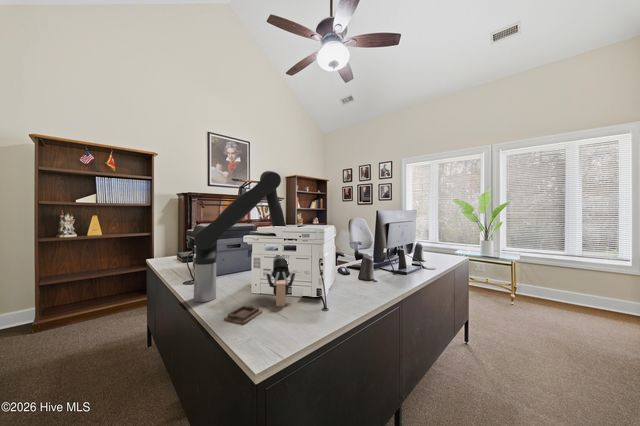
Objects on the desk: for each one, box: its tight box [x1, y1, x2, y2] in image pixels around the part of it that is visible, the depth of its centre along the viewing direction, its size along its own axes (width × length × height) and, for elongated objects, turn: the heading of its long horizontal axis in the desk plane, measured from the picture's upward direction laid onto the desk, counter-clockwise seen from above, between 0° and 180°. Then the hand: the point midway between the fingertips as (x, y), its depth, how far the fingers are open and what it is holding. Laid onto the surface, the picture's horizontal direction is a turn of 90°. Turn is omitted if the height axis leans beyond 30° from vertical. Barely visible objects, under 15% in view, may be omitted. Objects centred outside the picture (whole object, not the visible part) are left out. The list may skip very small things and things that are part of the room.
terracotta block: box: [275, 280, 286, 307], centre depth 110 cm, size 4×6×10 cm, turn 10°
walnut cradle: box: [223, 303, 263, 326], centre depth 96 cm, size 10×12×3 cm
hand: (280, 294), depth 109 cm, fingers closed on terracotta block, 4 cm apart
